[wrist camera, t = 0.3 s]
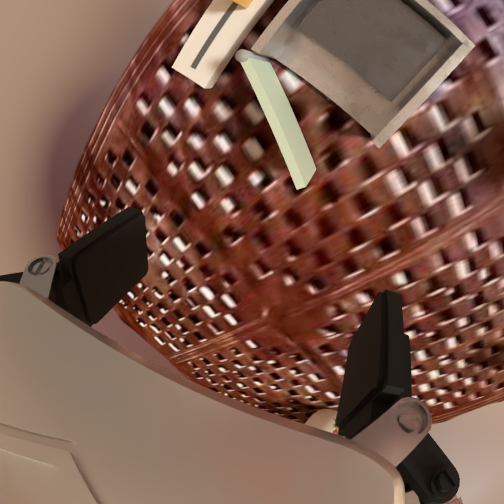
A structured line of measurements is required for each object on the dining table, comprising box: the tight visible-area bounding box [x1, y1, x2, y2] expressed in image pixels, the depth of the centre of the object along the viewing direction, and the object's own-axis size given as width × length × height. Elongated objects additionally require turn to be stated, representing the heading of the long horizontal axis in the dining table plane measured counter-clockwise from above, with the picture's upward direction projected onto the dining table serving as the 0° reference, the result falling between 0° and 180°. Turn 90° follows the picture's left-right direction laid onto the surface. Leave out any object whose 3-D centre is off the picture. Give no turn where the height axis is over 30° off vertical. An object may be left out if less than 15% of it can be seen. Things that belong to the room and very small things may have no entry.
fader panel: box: [172, 0, 274, 88], centre depth 28 cm, size 16×6×2 cm, turn 145°
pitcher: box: [305, 409, 343, 437], centre depth 58 cm, size 11×18×14 cm, turn 40°
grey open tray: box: [251, 0, 475, 148], centre depth 22 cm, size 16×16×6 cm
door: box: [235, 49, 316, 189], centre depth 29 cm, size 1×16×7 cm, turn 25°
